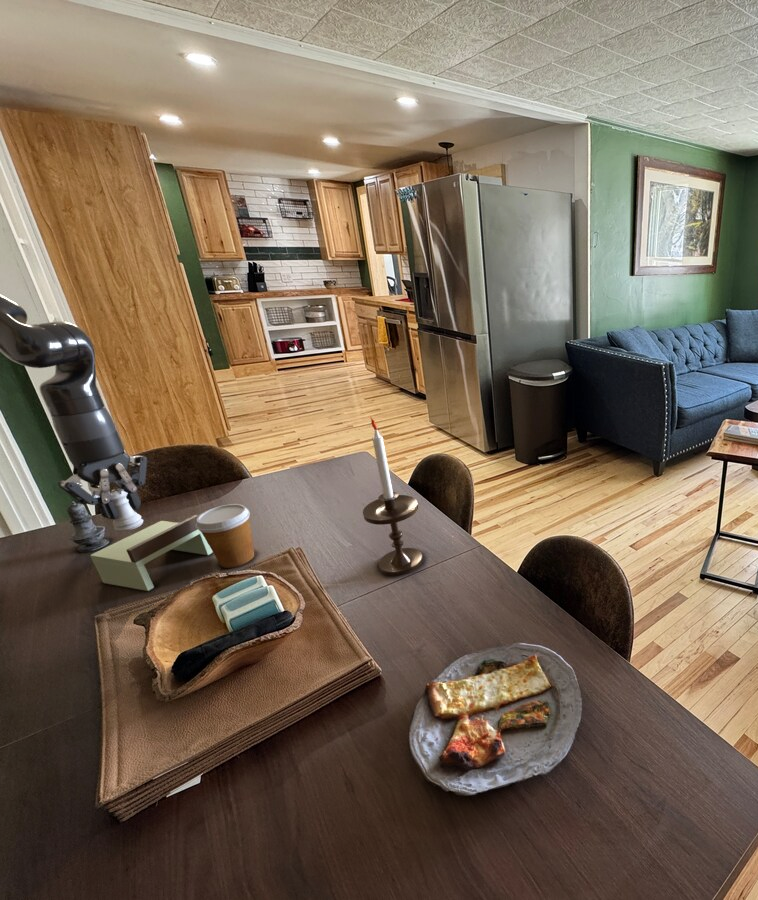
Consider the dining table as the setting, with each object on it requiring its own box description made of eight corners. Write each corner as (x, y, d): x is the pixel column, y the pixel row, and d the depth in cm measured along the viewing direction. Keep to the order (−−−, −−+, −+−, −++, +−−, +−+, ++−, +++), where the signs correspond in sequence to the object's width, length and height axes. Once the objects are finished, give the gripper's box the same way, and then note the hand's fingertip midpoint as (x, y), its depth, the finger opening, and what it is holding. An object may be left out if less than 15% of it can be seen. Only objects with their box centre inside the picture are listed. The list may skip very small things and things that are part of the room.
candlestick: (404, 582, 100) (374, 427, 87) (363, 572, 103) (329, 421, 90) (436, 554, 110) (414, 410, 96) (398, 545, 113) (371, 405, 99)
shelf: (103, 583, 99) (83, 542, 96) (171, 545, 112) (156, 509, 108) (148, 591, 97) (129, 550, 93) (212, 552, 110) (199, 515, 106)
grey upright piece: (69, 550, 110) (46, 505, 105) (99, 537, 115) (78, 493, 111) (87, 554, 109) (65, 509, 104) (117, 540, 114) (97, 496, 109)
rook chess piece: (114, 526, 96) (98, 491, 93) (143, 518, 99) (129, 484, 96) (114, 535, 93) (98, 499, 90) (145, 526, 96) (130, 491, 93)
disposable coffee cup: (271, 553, 109) (257, 508, 105) (227, 577, 101) (210, 529, 97) (246, 543, 113) (231, 499, 108) (201, 565, 105) (183, 518, 100)
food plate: (403, 825, 58) (399, 807, 56) (416, 674, 78) (412, 658, 77) (599, 768, 64) (599, 750, 63) (563, 642, 85) (562, 627, 83)
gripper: (115, 419, 95) (147, 495, 102) (24, 445, 82) (66, 529, 89) (145, 422, 94) (174, 499, 100) (56, 449, 81) (97, 534, 88)
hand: (123, 513), depth 95 cm, fingers closed on rook chess piece, 3 cm apart
